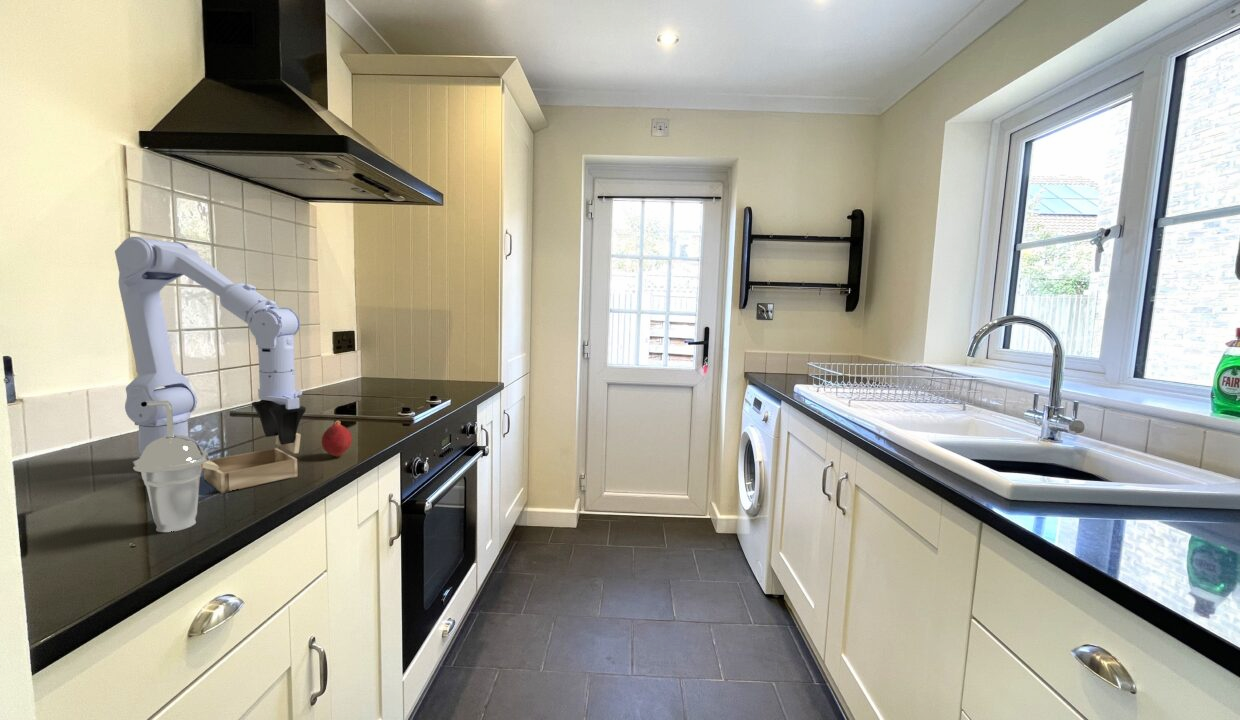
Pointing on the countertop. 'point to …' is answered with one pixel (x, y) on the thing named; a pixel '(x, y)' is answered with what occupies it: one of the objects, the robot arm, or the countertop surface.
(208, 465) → the flap
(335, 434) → the red rounded oval piece
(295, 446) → the flap
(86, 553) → the countertop surface
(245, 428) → the countertop surface
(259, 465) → the carton
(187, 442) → the cup with straw
